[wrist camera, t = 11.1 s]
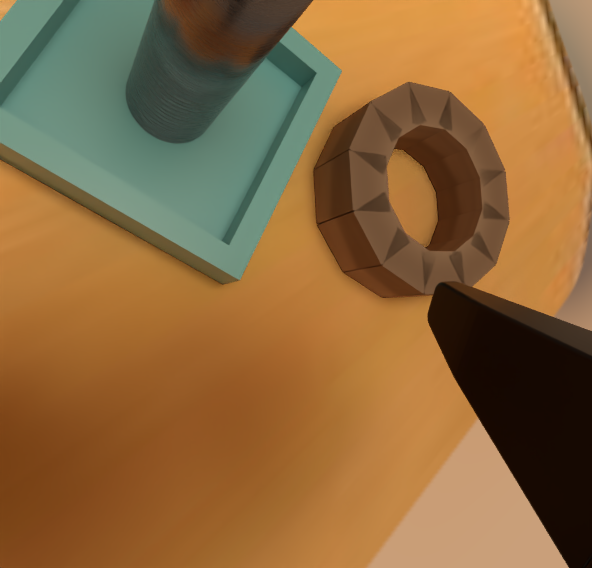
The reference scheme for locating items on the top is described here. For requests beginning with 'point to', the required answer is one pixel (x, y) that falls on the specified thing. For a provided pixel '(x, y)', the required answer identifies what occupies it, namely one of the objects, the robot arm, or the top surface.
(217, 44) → the steel pin
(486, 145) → the socket
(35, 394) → the top surface
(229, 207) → the tray
